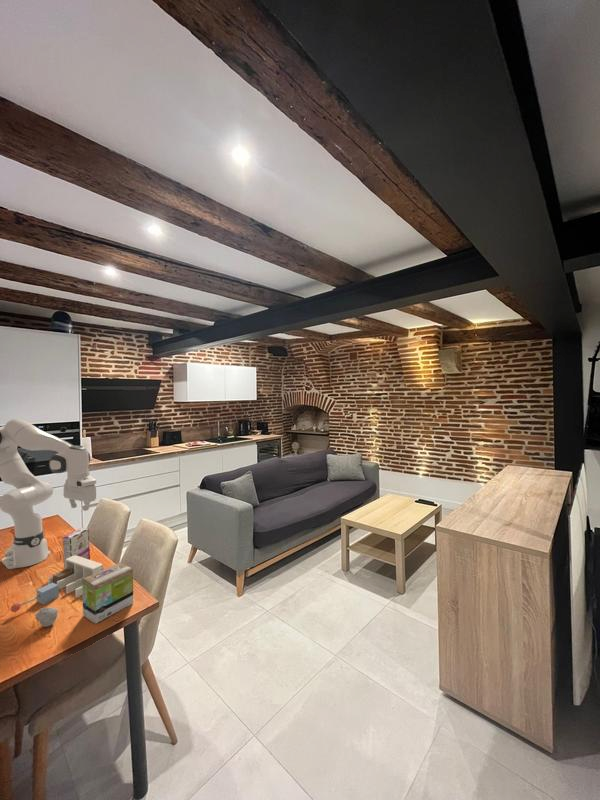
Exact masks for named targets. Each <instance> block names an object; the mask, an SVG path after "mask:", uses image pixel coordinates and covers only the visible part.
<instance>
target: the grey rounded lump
mask: <svg viewBox="0 0 600 800" xmlns="http://www.w3.org/2000/svg"><path fill="white" fill-rule="evenodd" d="M58 612H59V609H58V608H56V607H49V606H45V607H41V608H39V610H38V612H37V613H36V614H35V615H34V616H35V620H36V621H37V622H39V624H40V626H41V627H45V628H46V627H50V626H52V625H53V624H54V623H55V621H56V620H57V618H58Z"/></svg>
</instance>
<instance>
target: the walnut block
mask: <svg viewBox="0 0 600 800" xmlns="http://www.w3.org/2000/svg"><path fill="white" fill-rule="evenodd" d="M70 575H73V571H72V570H69V569H63V570H60V571H59V572H56V573H54V574H52V576H53V583H55V584H57V582H58V581H60V580H62V579H64V578H66V577H68V576H70Z"/></svg>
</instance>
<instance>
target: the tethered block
mask: <svg viewBox="0 0 600 800" xmlns="http://www.w3.org/2000/svg"><path fill="white" fill-rule="evenodd" d="M59 590H60V589H59V587H58V585H57V584H55V583H50V584H46V585H45V586H41V587H39V588H38V589H36V596H34V597H33V598H30V599H28V600H27V601H24V602H22V603H19V602H18V603H17V602H16V603H13V604H12V605H11V607H10V611H11V612H12V613H16V612H18V611H20V609H21V607H22V606H25V605H27V604H28V603H31V602H32V601H35V600H36V602H37V603H39V604H41V605H45V604H47V603H49V602H51V601H54V600H55V599H57V598H59V597H60V591H59Z"/></svg>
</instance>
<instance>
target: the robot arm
mask: <svg viewBox="0 0 600 800" xmlns="http://www.w3.org/2000/svg"><path fill="white" fill-rule="evenodd" d="M18 447H20V448H21V449H23V450H26V451H54V452H57V453H55V454H53V455H51V456H50V458H49V461H48V468H49V470H50V471H51V472H52V473H54V474H65V473H67V479H65V483H64V484H63V497H64V498H65V499H68V501H69V504H70V508H72V509H75V508H77V503H76V501H78V502H83V504H84V505H83V506H82V511H85V512H86V511H89V506H90V504H91V503H92V502H95V501H96V499H97V487H96V484H97V479H96V478H94V477H93V476H92V475H91V474H90V469H89V466H90V462H91V458H92V457H91V455H90V453H89V451H88V448H87V447H86V446H84V445H73V444H72V443H70V442H68V441H66V440H64V439H62V438H60V437H58V436H56V435H53V434H50V433H48V432H46V431H44V430H42V429H40V428H38V427H37V426H36V425H34V424H32V423H30V422H28V421H26V420H24V419H21V418H13V419H11V420H9V421H7V422H6V423H5V425H2V426H0V479H1V481H2V482H3V483H4V484H5V485H10V486H13V487H15V489H12V490H10V491H8V492H6V493H5V494H3V495H2V496H0V510H1V511H2V512H3V513H5V514H8V515H9V516H10V517H11V519H12V520H13V524H14V536H13V541H12V542H13V543H12V544H11V545H10V546H8V548H7V549H6V550H7V551H6V552H5V553H4V556H5V557H3V558H1V560H0V561H2V562H1V563H2V564H3V565H4V566H5V568H6V569H7V570H13V569H19V568H26V567H30V566H33V565H36V564H39V563H42V562H43V561H44V560H46V559H47V558H48V557H49V556H50V554H51V550H49V548H48V542H47V539H46V538H45V537H44V536H45V533H44V530H43V518H42V516H41V514H39V513H36V512H34V509H33V507H34V506H36V505H38V504H41V503H44V502H46V500H48V499H50V498H51V497H52V496H53V493H54V489H53V485H51V484H50V483H49V482H47V481H43V480H41V479H39V478H38V477H36V476H35V475H34V474H33V473H32V472H31V471H30V470H29V468H28V467H27V465H26V463H25V462H24V459H23V458H22V457H21V455H20V453H19V452H18Z"/></svg>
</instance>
